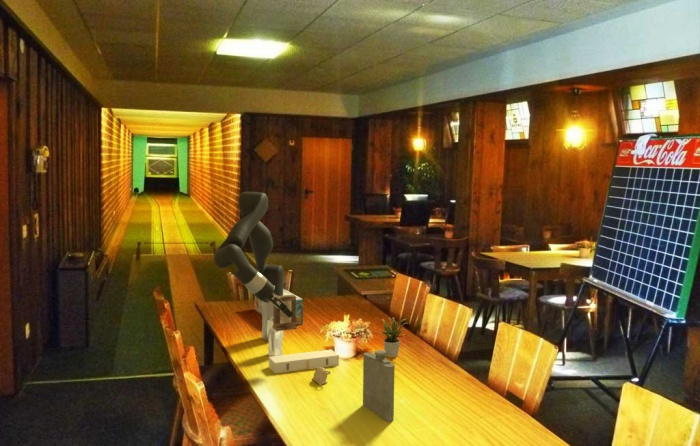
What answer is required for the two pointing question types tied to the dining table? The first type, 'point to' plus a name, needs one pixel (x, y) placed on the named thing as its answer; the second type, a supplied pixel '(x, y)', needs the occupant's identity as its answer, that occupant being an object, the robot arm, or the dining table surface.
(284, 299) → the picture frame
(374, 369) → the hip flask
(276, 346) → the beer glass
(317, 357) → the picture ledge
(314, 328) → the dining table surface
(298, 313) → the soda box
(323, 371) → the decorative ornament
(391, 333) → the house plant
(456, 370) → the dining table surface
